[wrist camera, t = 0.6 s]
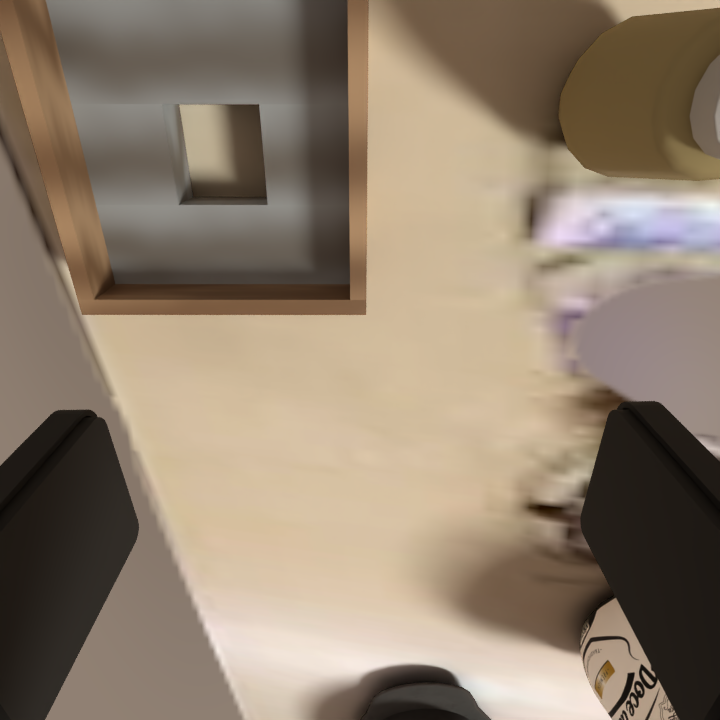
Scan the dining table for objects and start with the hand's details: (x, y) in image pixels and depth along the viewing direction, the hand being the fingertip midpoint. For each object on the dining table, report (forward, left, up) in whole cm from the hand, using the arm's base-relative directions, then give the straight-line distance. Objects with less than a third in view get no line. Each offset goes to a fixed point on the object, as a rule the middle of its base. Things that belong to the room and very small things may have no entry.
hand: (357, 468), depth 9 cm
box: (-3, -9, -27) cm, 29 cm away
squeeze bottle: (-6, +15, -27) cm, 32 cm away
